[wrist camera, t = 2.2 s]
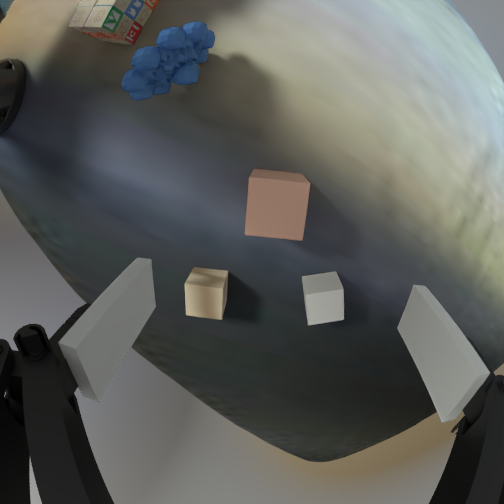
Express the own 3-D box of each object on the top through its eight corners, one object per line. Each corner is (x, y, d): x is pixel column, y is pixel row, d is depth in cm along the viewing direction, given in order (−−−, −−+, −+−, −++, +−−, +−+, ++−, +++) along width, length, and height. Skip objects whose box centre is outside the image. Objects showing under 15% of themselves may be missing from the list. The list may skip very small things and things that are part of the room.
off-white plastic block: (304, 305, 41) (308, 325, 37) (301, 276, 39) (305, 294, 35) (337, 300, 41) (343, 319, 36) (335, 271, 39) (343, 288, 34)
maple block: (194, 296, 42) (186, 314, 37) (194, 266, 40) (184, 283, 35) (226, 300, 42) (221, 319, 37) (228, 270, 40) (222, 288, 35)
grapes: (176, 123, 32) (133, 120, 21) (143, 93, 30) (93, 81, 19) (242, 61, 28) (227, 26, 17) (206, 31, 27) (178, -8, 16)
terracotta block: (250, 214, 36) (244, 234, 29) (254, 168, 34) (249, 177, 27) (296, 219, 36) (302, 240, 29) (301, 173, 34) (310, 183, 26)
